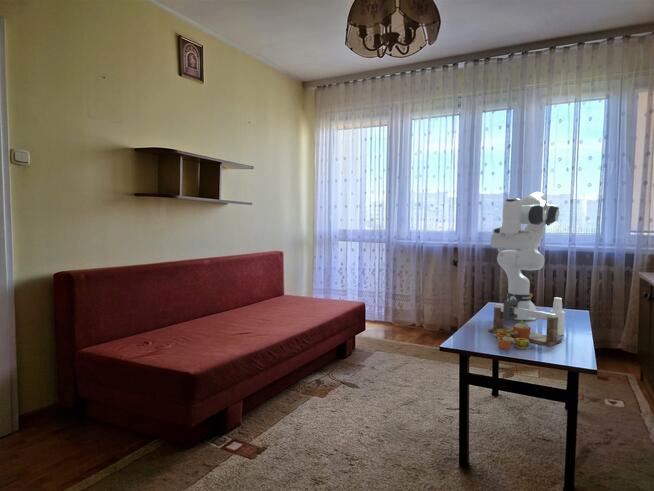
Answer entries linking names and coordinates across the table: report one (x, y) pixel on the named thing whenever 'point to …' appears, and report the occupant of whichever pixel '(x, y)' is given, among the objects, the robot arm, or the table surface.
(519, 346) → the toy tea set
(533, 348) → the table surface
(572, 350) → the table surface
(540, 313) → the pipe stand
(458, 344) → the table surface
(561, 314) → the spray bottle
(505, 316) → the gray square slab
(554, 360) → the table surface
